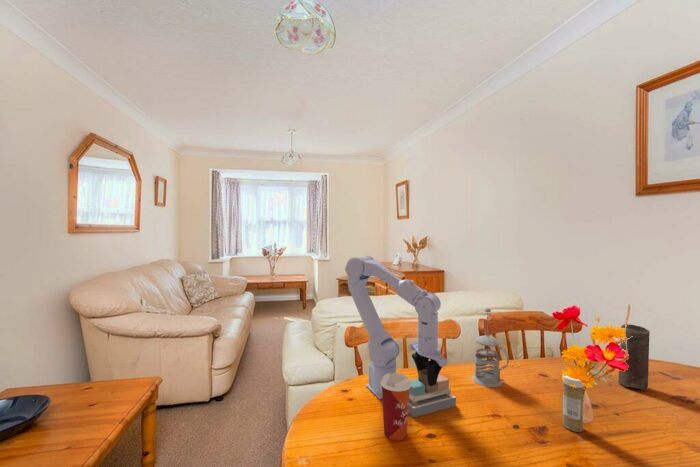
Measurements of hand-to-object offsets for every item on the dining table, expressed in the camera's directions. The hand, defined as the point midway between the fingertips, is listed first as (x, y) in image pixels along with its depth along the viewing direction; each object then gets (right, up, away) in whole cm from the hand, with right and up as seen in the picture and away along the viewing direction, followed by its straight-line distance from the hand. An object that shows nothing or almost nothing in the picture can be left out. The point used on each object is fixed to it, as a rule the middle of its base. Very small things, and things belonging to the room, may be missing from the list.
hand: (427, 381), depth 95 cm
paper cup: (-11, -7, -13) cm, 19 cm away
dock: (0, -7, 0) cm, 7 cm away
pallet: (0, -4, 0) cm, 4 cm away
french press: (+25, -7, +16) cm, 31 cm away
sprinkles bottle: (+36, -8, -10) cm, 38 cm away
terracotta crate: (+4, -2, +2) cm, 5 cm away
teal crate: (-4, -2, -2) cm, 5 cm away
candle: (+72, -8, +12) cm, 73 cm away
